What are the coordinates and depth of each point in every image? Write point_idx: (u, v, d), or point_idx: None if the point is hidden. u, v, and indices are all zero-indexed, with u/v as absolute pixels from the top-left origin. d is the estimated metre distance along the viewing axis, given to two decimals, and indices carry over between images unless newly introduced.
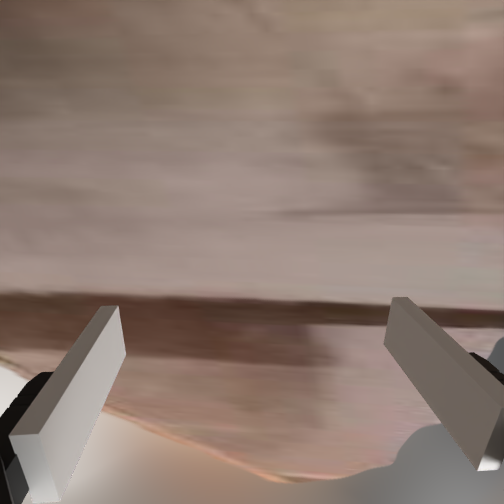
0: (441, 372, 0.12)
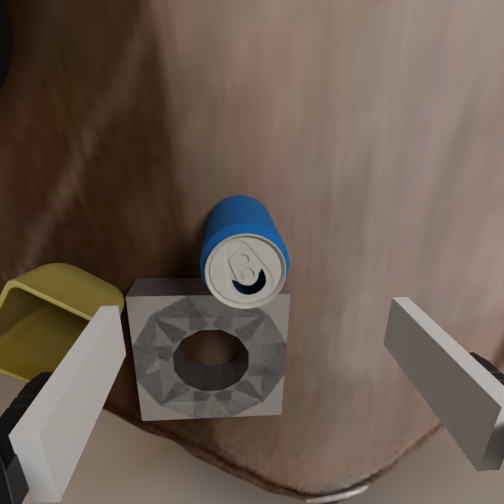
0: (441, 372, 0.12)
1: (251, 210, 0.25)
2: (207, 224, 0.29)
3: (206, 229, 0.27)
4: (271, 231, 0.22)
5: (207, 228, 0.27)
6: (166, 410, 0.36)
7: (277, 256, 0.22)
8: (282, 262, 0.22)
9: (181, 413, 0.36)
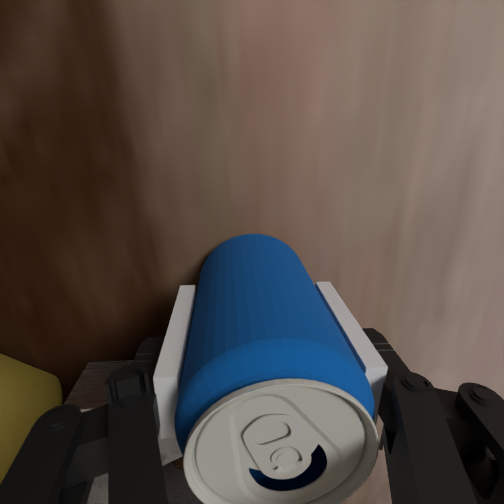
0: None
1: (282, 280, 0.13)
2: (197, 291, 0.16)
3: (194, 308, 0.15)
4: (340, 355, 0.09)
5: (195, 310, 0.14)
6: None
7: (358, 419, 0.09)
8: (368, 431, 0.09)
9: None
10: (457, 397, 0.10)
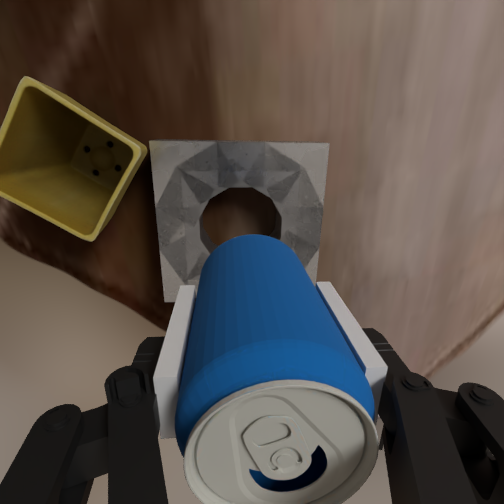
0: None
1: (282, 281, 0.13)
2: (197, 292, 0.16)
3: (194, 308, 0.15)
4: (340, 356, 0.09)
5: (195, 311, 0.14)
6: None
7: (358, 420, 0.09)
8: (368, 432, 0.09)
9: None
10: (457, 397, 0.10)
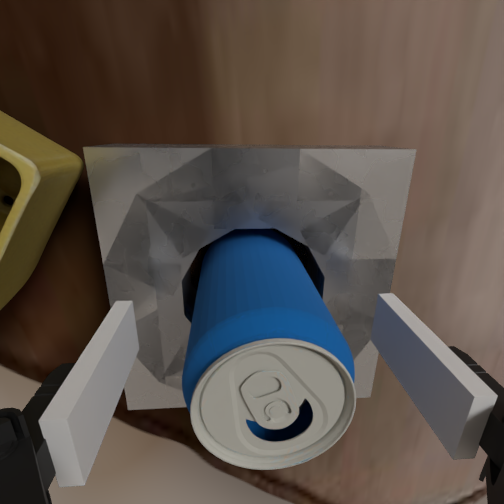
0: (421, 365, 0.12)
1: (276, 264, 0.14)
2: (200, 277, 0.18)
3: (197, 290, 0.16)
4: (324, 323, 0.11)
5: (199, 292, 0.15)
6: (170, 390, 0.20)
7: (338, 376, 0.11)
8: (347, 387, 0.11)
9: None
10: None
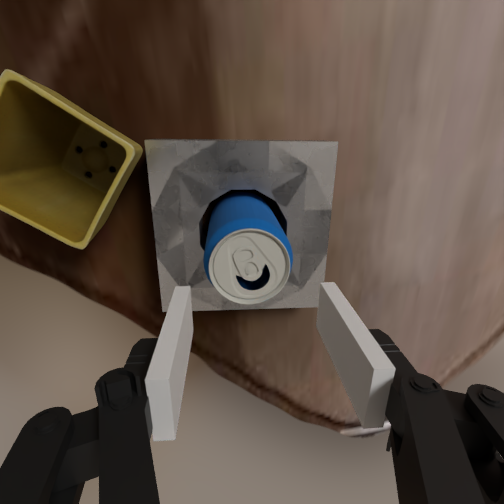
0: (345, 345, 0.13)
1: (254, 206, 0.25)
2: (210, 221, 0.29)
3: (209, 225, 0.27)
4: (275, 226, 0.22)
5: (210, 224, 0.26)
6: None
7: (281, 251, 0.22)
8: (285, 257, 0.22)
9: (207, 302, 0.31)
10: (466, 398, 0.10)
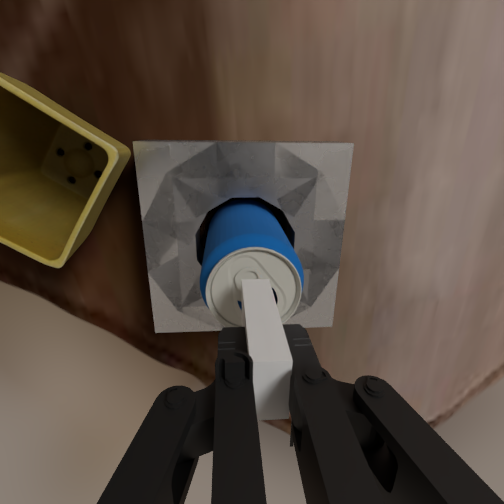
0: None
1: (258, 217, 0.22)
2: (208, 232, 0.25)
3: (207, 239, 0.24)
4: (283, 243, 0.19)
5: (208, 238, 0.23)
6: (186, 318, 0.28)
7: (291, 273, 0.18)
8: (296, 280, 0.18)
9: (205, 322, 0.28)
10: (354, 394, 0.10)
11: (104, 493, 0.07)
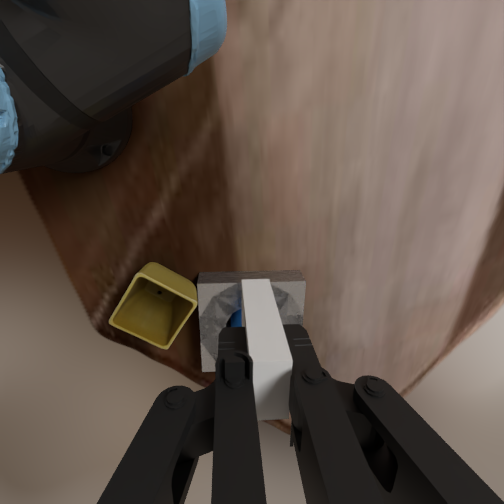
0: None
1: None
2: (232, 322, 0.49)
3: None
4: None
5: None
6: None
7: None
8: None
9: None
10: (354, 394, 0.10)
11: (104, 493, 0.07)
